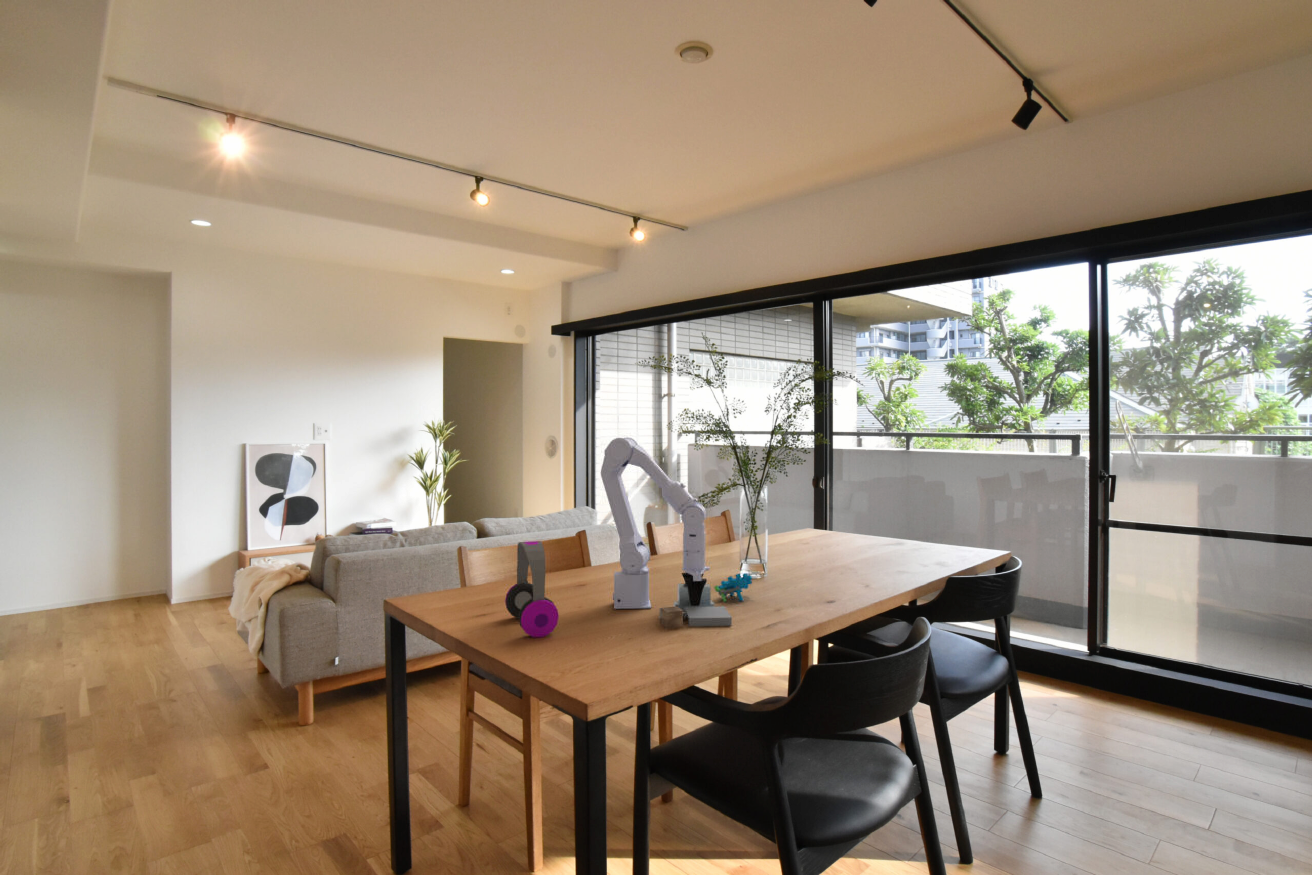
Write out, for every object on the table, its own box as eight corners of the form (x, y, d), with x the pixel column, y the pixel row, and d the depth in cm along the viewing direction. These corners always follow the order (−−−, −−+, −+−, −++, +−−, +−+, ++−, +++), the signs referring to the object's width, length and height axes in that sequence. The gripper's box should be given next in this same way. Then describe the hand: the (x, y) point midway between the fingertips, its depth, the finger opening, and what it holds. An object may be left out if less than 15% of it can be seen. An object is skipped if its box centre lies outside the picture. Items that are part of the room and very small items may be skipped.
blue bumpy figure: (746, 587, 192) (754, 568, 184) (754, 605, 188) (762, 586, 181) (710, 595, 189) (716, 576, 181) (717, 614, 185) (724, 595, 178)
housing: (675, 610, 173) (675, 587, 173) (673, 606, 177) (673, 583, 177) (714, 610, 173) (714, 586, 173) (711, 605, 178) (711, 583, 178)
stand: (689, 626, 159) (689, 618, 159) (684, 614, 169) (684, 606, 169) (731, 625, 160) (731, 617, 160) (724, 614, 170) (724, 606, 170)
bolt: (660, 621, 163) (660, 609, 163) (659, 618, 166) (659, 606, 166) (685, 620, 164) (685, 609, 164) (683, 617, 167) (683, 606, 167)
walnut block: (666, 629, 157) (666, 612, 157) (661, 624, 161) (661, 607, 161) (682, 627, 159) (682, 610, 159) (676, 623, 162) (676, 606, 162)
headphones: (503, 617, 167) (503, 536, 166) (538, 613, 170) (538, 533, 170) (521, 641, 147) (521, 550, 147) (561, 637, 151) (561, 547, 151)
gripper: (713, 555, 168) (713, 610, 168) (705, 545, 183) (705, 595, 183) (685, 555, 168) (685, 610, 168) (679, 545, 182) (679, 596, 182)
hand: (693, 602), depth 175 cm, fingers closed on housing, 4 cm apart
